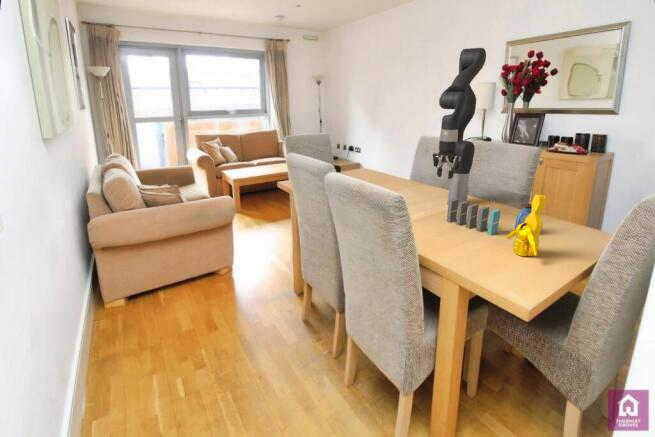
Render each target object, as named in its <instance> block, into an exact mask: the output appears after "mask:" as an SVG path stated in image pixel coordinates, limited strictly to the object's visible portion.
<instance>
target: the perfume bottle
mask: <svg viewBox="0 0 655 437" xmlns="http://www.w3.org/2000/svg"><path fill="white" fill-rule="evenodd" d="M531 212H532V203H524V204H523V206H522V210H520V211H519V212H518V213H517V214H516V217H515V224H514V229H513V230H515V229H516V228H517V226H518V225H519V224H523V223H524V222H525V219H526V218H527V216H529V214H530V213H531Z"/></svg>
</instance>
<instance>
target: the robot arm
mask: <svg viewBox="0 0 655 437" xmlns="http://www.w3.org/2000/svg"><path fill="white" fill-rule="evenodd" d="M486 51H487V50H486V49H485V48H484V47H474V48H473V47H472V48H471V47H469V48H464V49H462V50H461V51H460V55H459V61H458V74H457V75H456V76H455V78H454V80H453V81H452V83H451V84H450V86H448V87H447V88H446V89H445V90H444V91H443V92H442V93H441V94H440V97H439V100H438V104H439V107H440V108H441V109H443V110H454V111H453V112H452V113H450V114H446V115H444V116H442V118H441V129H440V134H439V141H438V142H439V143H438V152H435V153H433V154H432V161H433V167H436V176H437V177H438V178H441V177H442V175H443V167H444V164H445V163H446V164H447V165H446V166H447V167H448V169H449V170H448V176H447V179H448V180H449V184H448V185H449V186H448V194H447V205H448V204H449V201H450V200H453V199H458V200H459V201H458V204H459V203H461V202H464V201H466V202H468V195H469V181H470V173H471V169H472V167H473V161H474V156H475V144H474V143H473V141H469V140H464V135H465V134H464V133H465V131H466V128H467V127H468V125H469V123H470V122H471V121H472V119H473V118H474V116H475V114H476V106H477V97H476V94H475V92H474V89H473V88H472V86H471V83H472V81H473V80H474V79H475V78H476V76H477V75H478V74H479V73H480V71H481V70H482V69H483V67H484V66H485V64H486V61H487V60H486V59H487V52H486Z"/></svg>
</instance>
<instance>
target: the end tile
mask: <svg viewBox="0 0 655 437" xmlns="http://www.w3.org/2000/svg"><path fill="white" fill-rule="evenodd" d="M501 213H502V212H501V209H497V208H496V209H493V210H491V211H489V217H488V224H487V232H486V234H487V235H488V236H493V235H495V234H497V233H498V232H499V225H500V224H499V223H500V218H501Z"/></svg>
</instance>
